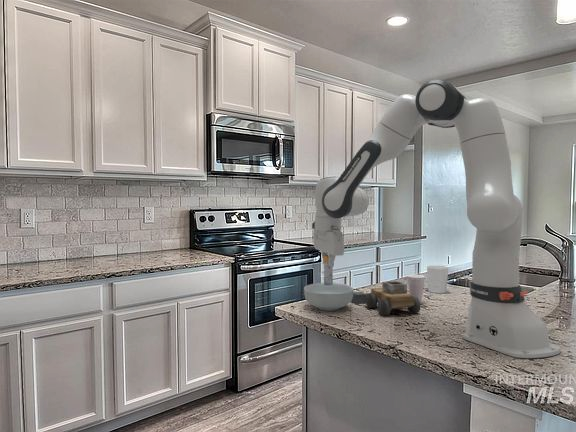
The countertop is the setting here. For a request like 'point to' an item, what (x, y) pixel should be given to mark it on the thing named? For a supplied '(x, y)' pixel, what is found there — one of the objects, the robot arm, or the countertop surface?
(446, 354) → the countertop surface
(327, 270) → the grey and orange cylinder
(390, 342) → the countertop surface
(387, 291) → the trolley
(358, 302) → the dark grey cube
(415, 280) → the smoothie
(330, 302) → the cereal bowl
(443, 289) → the white cup
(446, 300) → the countertop surface
